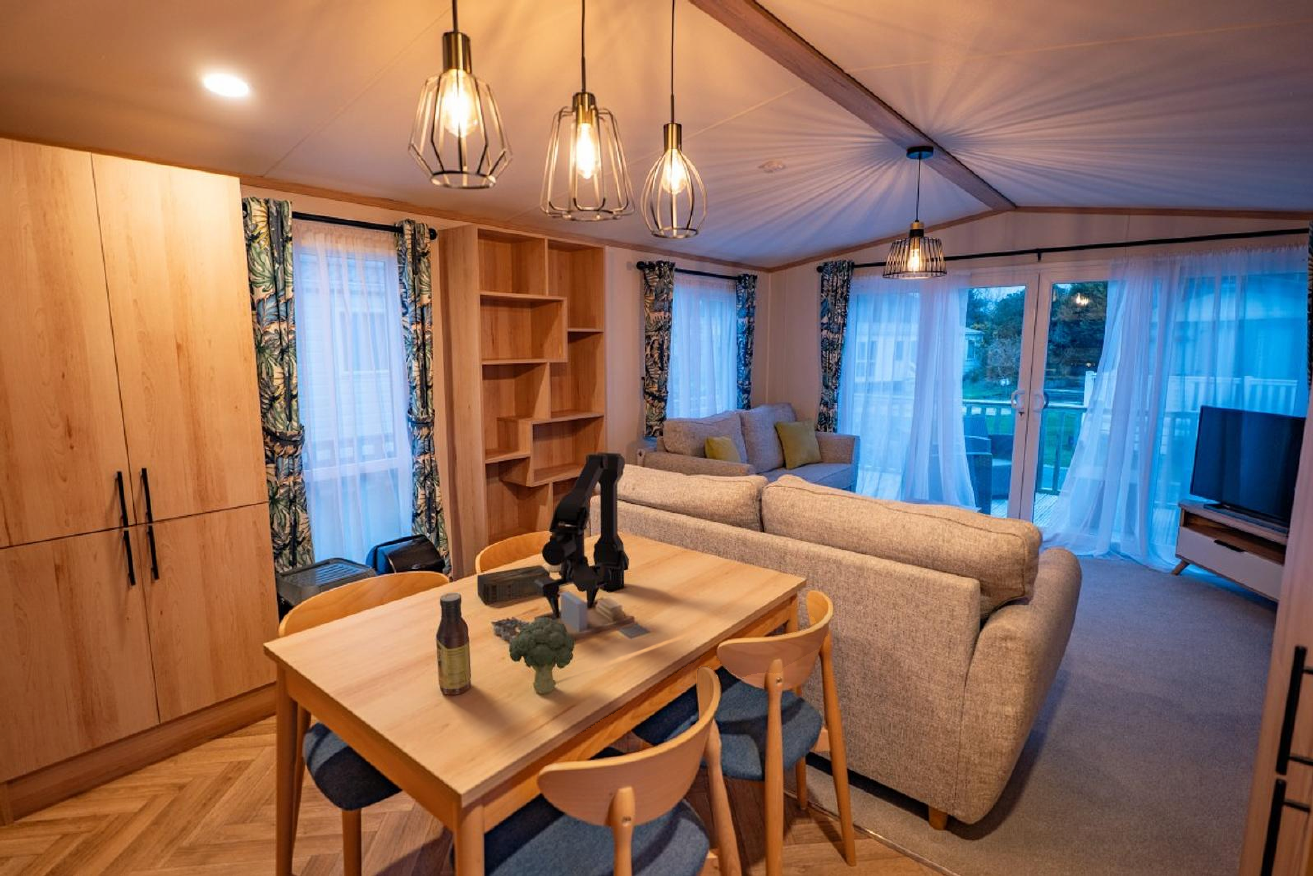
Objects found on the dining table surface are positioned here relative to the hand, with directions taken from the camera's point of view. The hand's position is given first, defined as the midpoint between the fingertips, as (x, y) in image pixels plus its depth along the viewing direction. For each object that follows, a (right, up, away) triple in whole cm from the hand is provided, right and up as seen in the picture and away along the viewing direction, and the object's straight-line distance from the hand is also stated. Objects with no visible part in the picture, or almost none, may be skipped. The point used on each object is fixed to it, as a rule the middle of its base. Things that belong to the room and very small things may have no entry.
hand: (573, 612), depth 151 cm
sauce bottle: (-20, -8, -27) cm, 35 cm away
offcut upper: (+8, -1, +6) cm, 11 cm away
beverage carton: (-20, -1, +21) cm, 29 cm away
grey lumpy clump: (-13, -5, -5) cm, 15 cm away
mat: (+15, -4, -3) cm, 16 cm away
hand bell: (-11, +2, +42) cm, 43 cm away
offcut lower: (+8, -2, +7) cm, 11 cm away
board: (0, -3, 0) cm, 3 cm away
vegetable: (-2, -8, -27) cm, 29 cm away
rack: (+2, -3, +2) cm, 5 cm away
